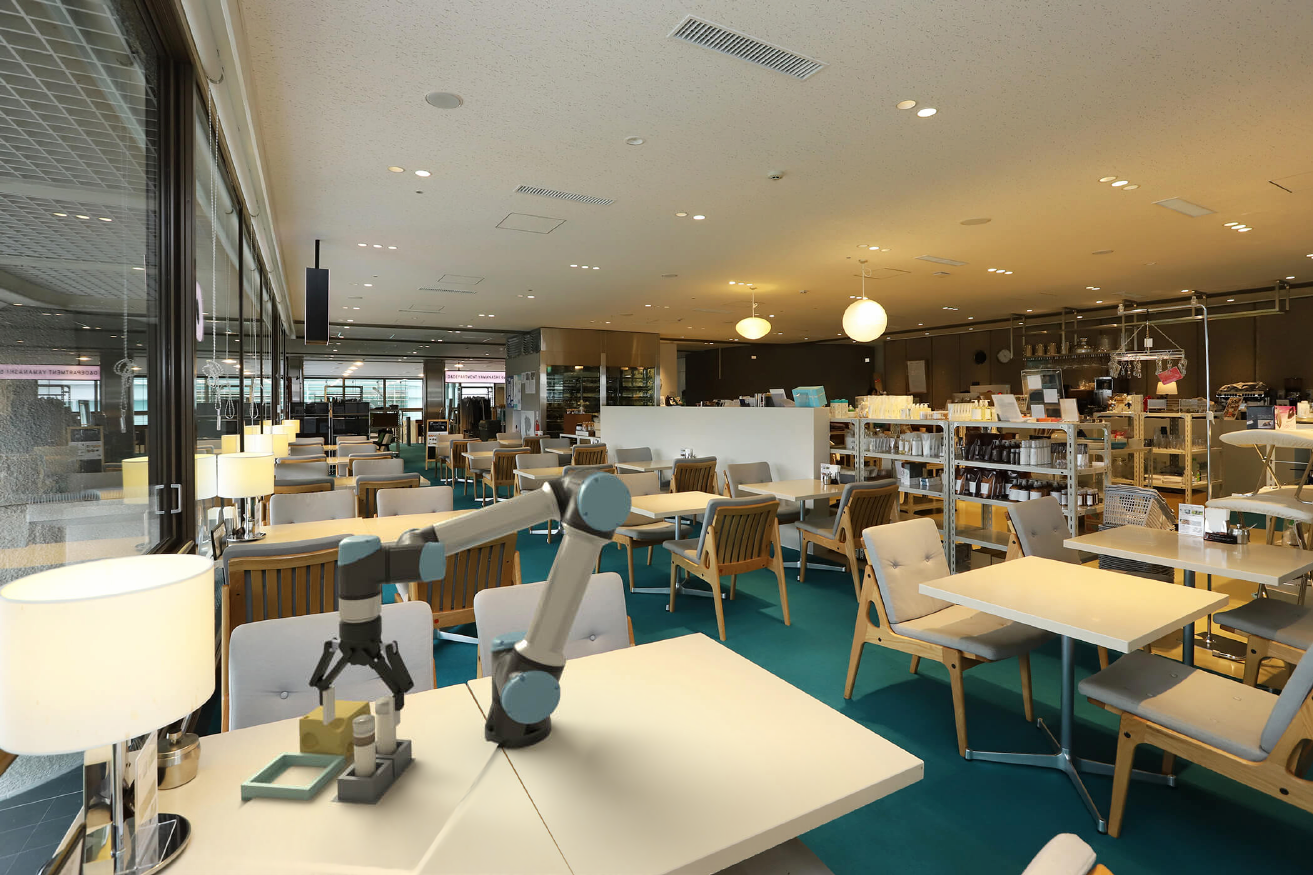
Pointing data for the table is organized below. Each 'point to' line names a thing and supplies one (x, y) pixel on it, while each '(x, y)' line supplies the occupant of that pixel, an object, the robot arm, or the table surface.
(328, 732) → the cheese
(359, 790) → the fuse block
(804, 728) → the table surface
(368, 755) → the banded white cylinder
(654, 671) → the table surface
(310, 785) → the pale green rectangular frame
